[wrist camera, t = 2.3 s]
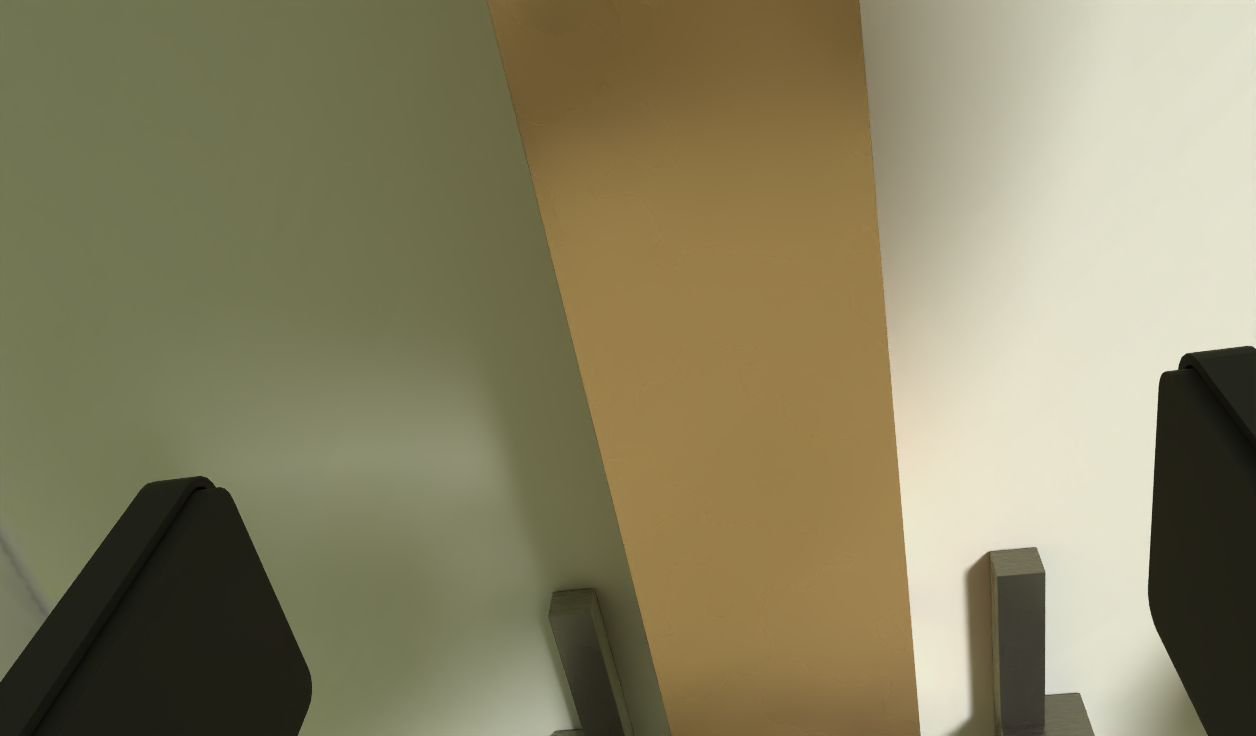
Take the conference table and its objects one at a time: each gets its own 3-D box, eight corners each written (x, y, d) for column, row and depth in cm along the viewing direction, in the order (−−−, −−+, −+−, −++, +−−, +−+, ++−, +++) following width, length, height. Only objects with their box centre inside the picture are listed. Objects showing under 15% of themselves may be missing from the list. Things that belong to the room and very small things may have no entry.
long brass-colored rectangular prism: (525, -170, 18) (456, -112, 13) (811, -229, 17) (845, -190, 13) (713, 696, 28) (711, 901, 23) (898, 682, 27) (934, 890, 23)
